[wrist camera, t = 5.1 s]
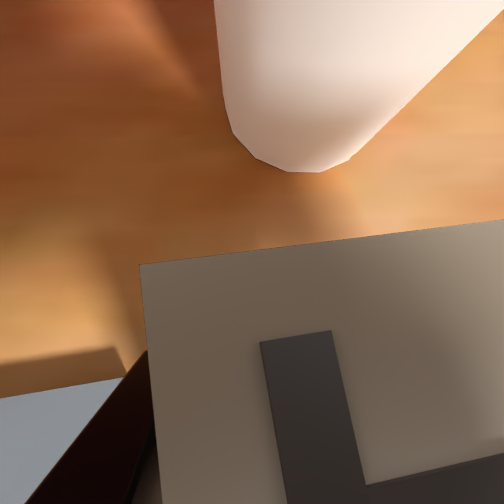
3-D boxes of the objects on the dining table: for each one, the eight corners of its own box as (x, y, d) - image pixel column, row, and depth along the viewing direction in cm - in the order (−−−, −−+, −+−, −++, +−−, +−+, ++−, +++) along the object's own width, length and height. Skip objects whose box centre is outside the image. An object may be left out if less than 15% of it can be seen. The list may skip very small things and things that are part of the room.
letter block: (342, 484, 13) (865, 797, 3) (191, 519, 13) (193, 1119, 2) (311, 338, 15) (601, 203, 4) (172, 361, 14) (118, 264, 4)
